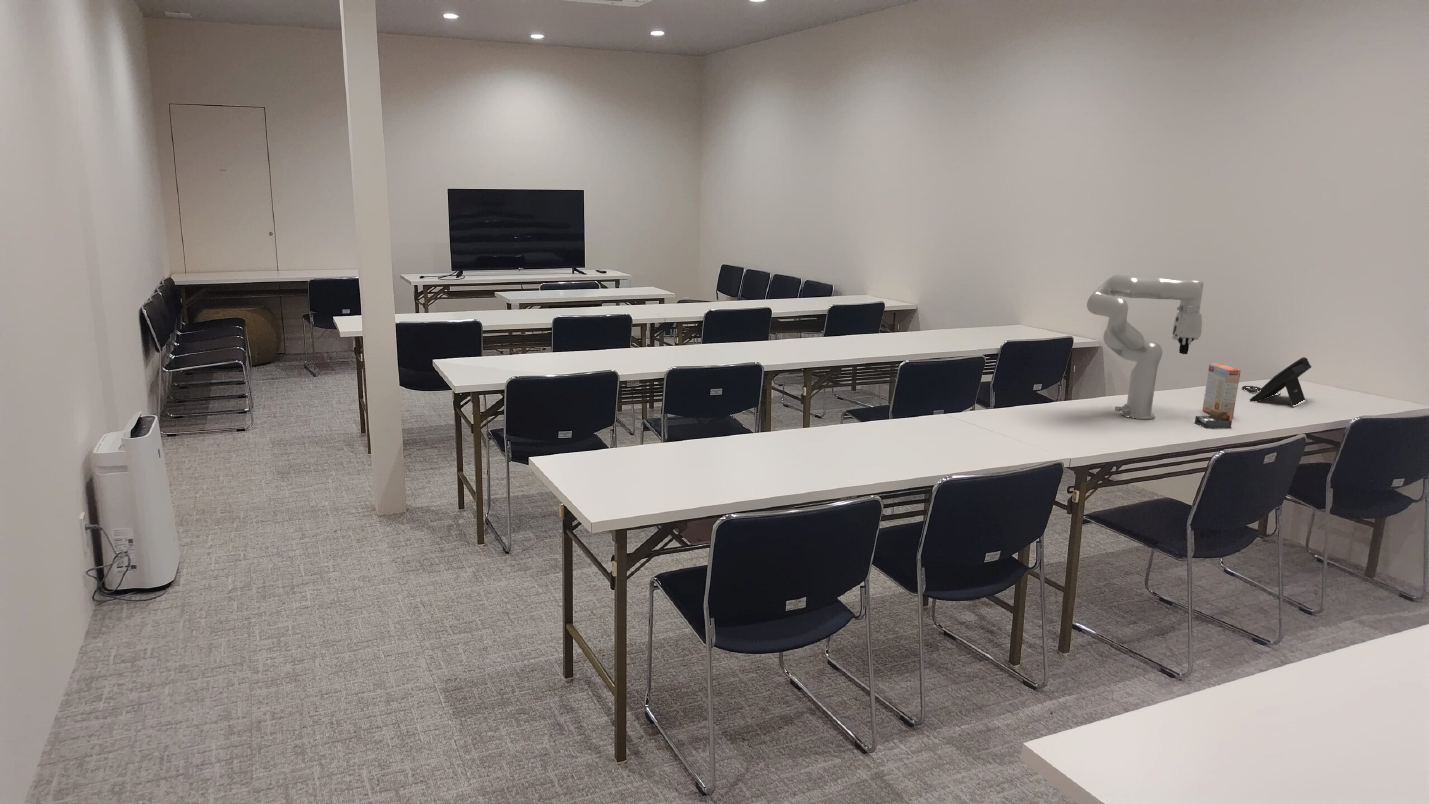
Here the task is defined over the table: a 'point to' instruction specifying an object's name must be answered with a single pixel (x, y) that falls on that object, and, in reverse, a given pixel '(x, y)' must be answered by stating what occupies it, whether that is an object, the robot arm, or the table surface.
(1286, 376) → the office phone
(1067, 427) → the table surface
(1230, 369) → the cracker box
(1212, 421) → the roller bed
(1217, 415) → the slab
